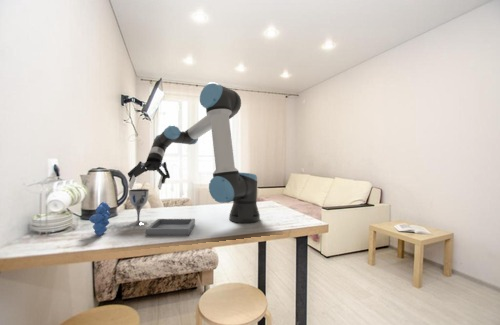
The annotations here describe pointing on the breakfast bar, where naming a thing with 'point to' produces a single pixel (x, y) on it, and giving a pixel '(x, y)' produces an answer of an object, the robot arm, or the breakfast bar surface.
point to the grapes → (100, 218)
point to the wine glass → (138, 203)
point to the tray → (170, 227)
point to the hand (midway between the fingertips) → (144, 187)
